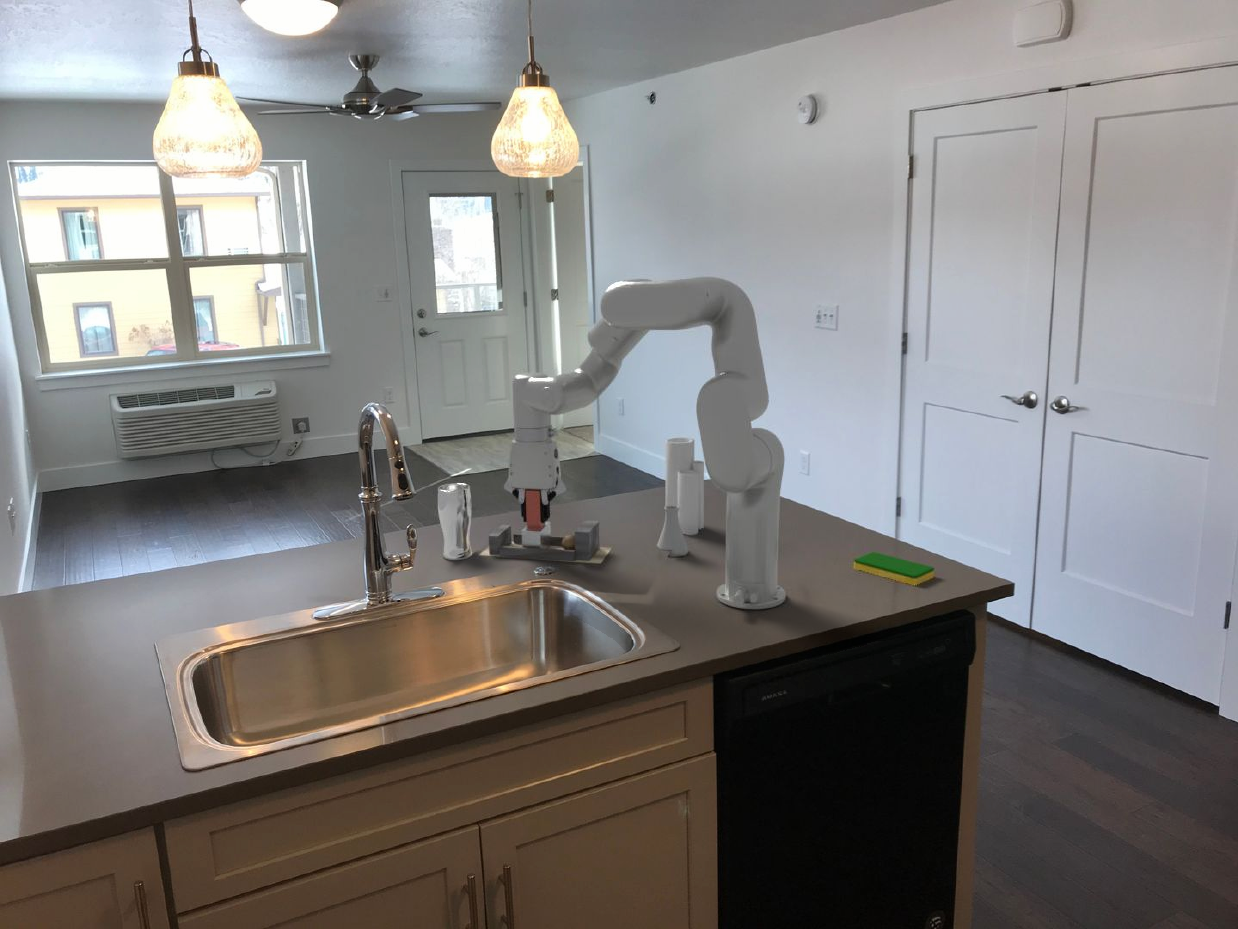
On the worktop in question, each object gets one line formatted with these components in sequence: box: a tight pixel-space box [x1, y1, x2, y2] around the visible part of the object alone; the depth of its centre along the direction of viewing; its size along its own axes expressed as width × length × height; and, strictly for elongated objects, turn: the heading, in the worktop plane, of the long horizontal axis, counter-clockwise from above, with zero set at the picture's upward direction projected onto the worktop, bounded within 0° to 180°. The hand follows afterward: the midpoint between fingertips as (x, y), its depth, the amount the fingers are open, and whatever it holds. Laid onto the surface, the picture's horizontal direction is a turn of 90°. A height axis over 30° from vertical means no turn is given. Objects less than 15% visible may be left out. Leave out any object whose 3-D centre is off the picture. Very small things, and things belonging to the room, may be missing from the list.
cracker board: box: [478, 520, 613, 564], centre depth 200 cm, size 10×26×8 cm, turn 77°
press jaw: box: [521, 489, 552, 549], centre depth 200 cm, size 7×4×13 cm, turn 167°
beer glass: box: [437, 482, 473, 561], centre depth 202 cm, size 7×7×15 cm
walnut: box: [562, 534, 575, 550], centre depth 199 cm, size 4×4×4 cm
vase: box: [664, 437, 705, 536], centre depth 219 cm, size 11×7×20 cm, turn 27°
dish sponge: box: [853, 551, 935, 587], centre depth 190 cm, size 7×14×2 cm, turn 43°
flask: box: [656, 505, 689, 558], centre depth 203 cm, size 7×7×10 cm
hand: (535, 520), depth 200 cm, fingers closed on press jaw, 3 cm apart
